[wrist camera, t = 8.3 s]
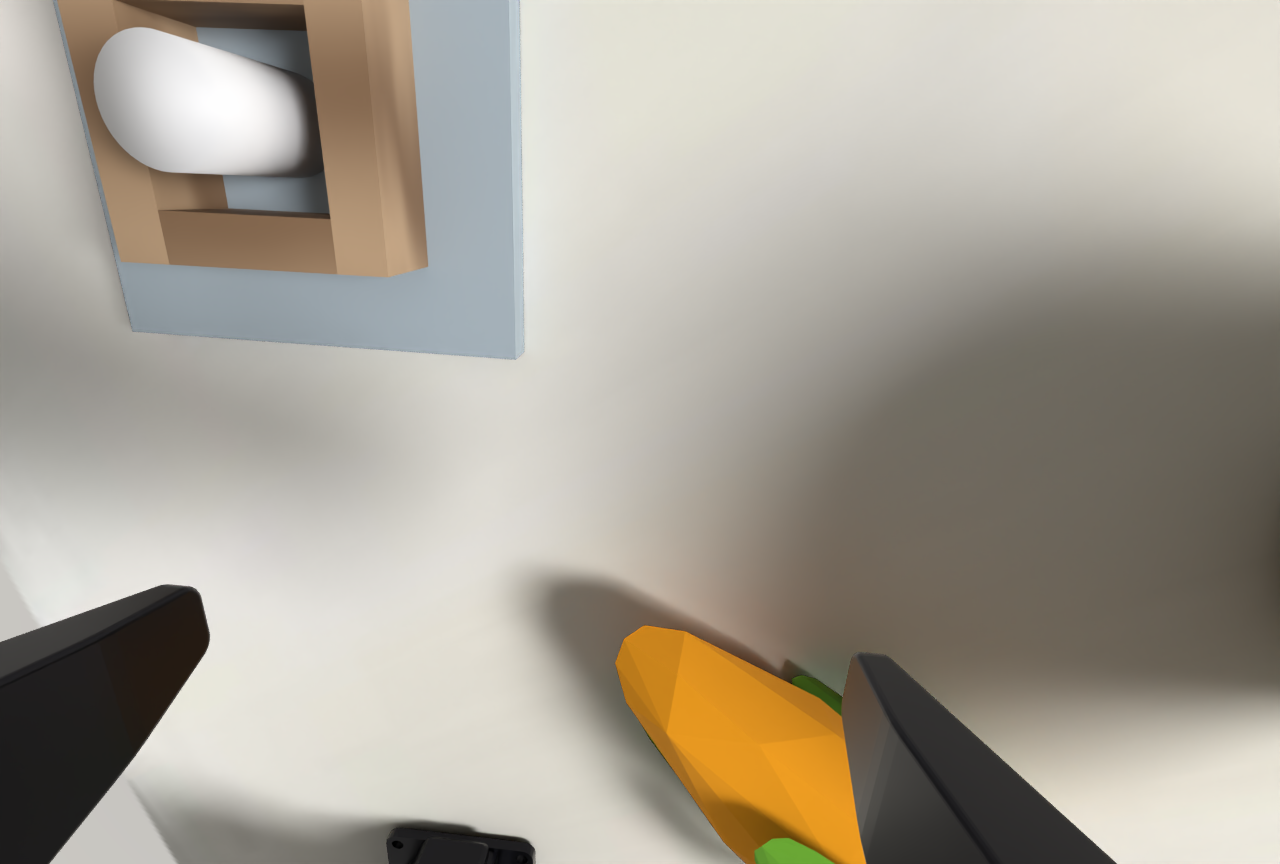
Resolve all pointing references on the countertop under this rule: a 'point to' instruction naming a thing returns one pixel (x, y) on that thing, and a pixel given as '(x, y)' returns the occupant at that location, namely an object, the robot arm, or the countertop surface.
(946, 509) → the countertop surface
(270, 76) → the base plate with peg
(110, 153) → the square wooden frame
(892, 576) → the countertop surface
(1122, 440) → the countertop surface
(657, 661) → the corn
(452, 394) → the countertop surface
